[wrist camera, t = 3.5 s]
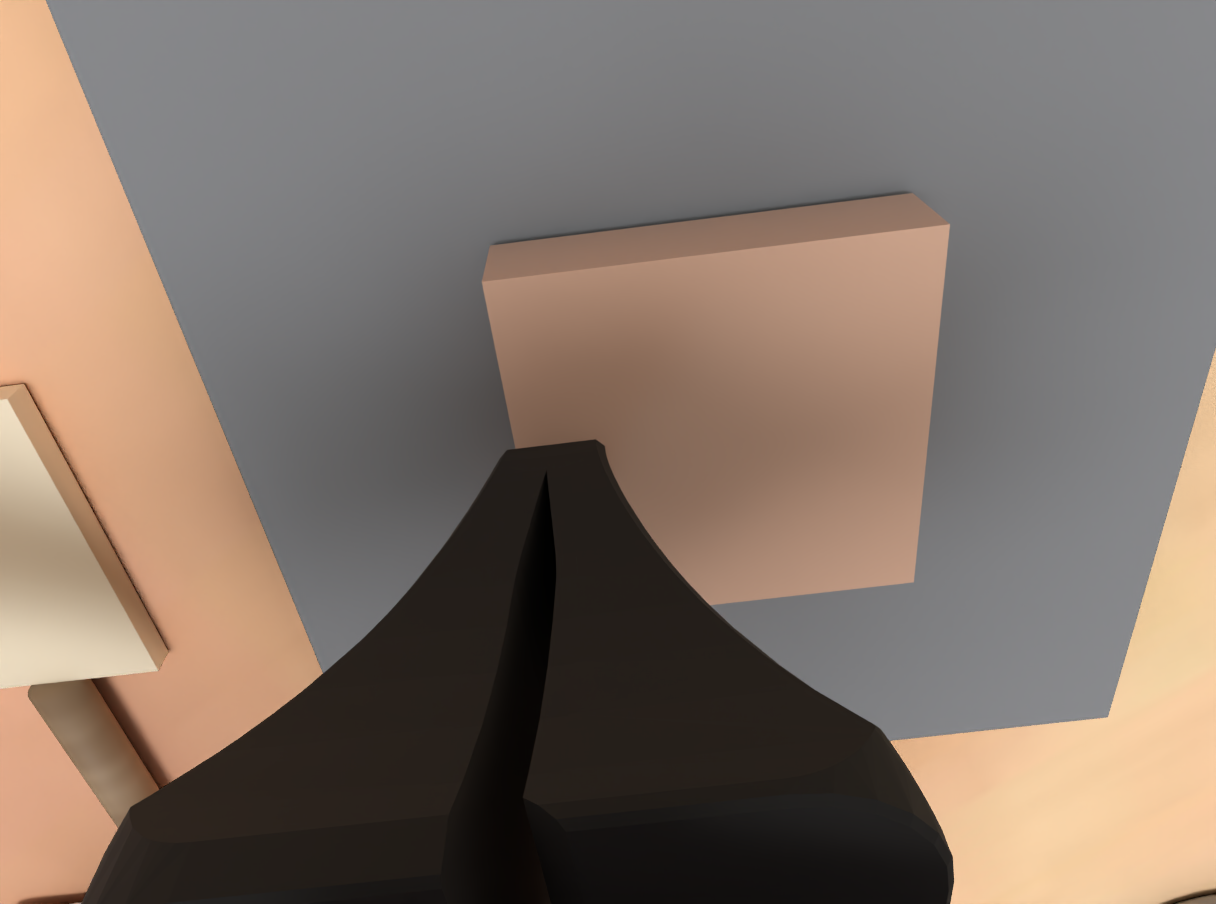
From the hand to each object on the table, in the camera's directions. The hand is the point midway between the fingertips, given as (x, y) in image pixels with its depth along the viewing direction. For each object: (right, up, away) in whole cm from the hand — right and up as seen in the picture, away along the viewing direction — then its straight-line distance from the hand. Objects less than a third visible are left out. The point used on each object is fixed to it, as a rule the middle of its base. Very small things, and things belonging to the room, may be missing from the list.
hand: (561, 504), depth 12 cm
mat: (+2, +2, +2) cm, 4 cm away
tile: (-1, +1, +1) cm, 2 cm away
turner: (-10, -4, +5) cm, 12 cm away
